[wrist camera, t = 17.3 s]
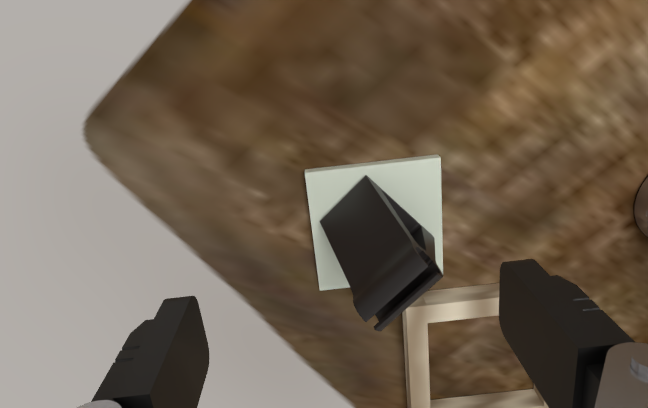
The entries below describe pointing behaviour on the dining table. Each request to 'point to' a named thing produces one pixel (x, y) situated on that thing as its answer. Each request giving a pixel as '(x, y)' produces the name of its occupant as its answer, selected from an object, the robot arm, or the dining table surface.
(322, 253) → the sage mat
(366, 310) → the phone stand
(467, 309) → the pocket holder
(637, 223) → the robot arm
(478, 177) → the dining table surface
